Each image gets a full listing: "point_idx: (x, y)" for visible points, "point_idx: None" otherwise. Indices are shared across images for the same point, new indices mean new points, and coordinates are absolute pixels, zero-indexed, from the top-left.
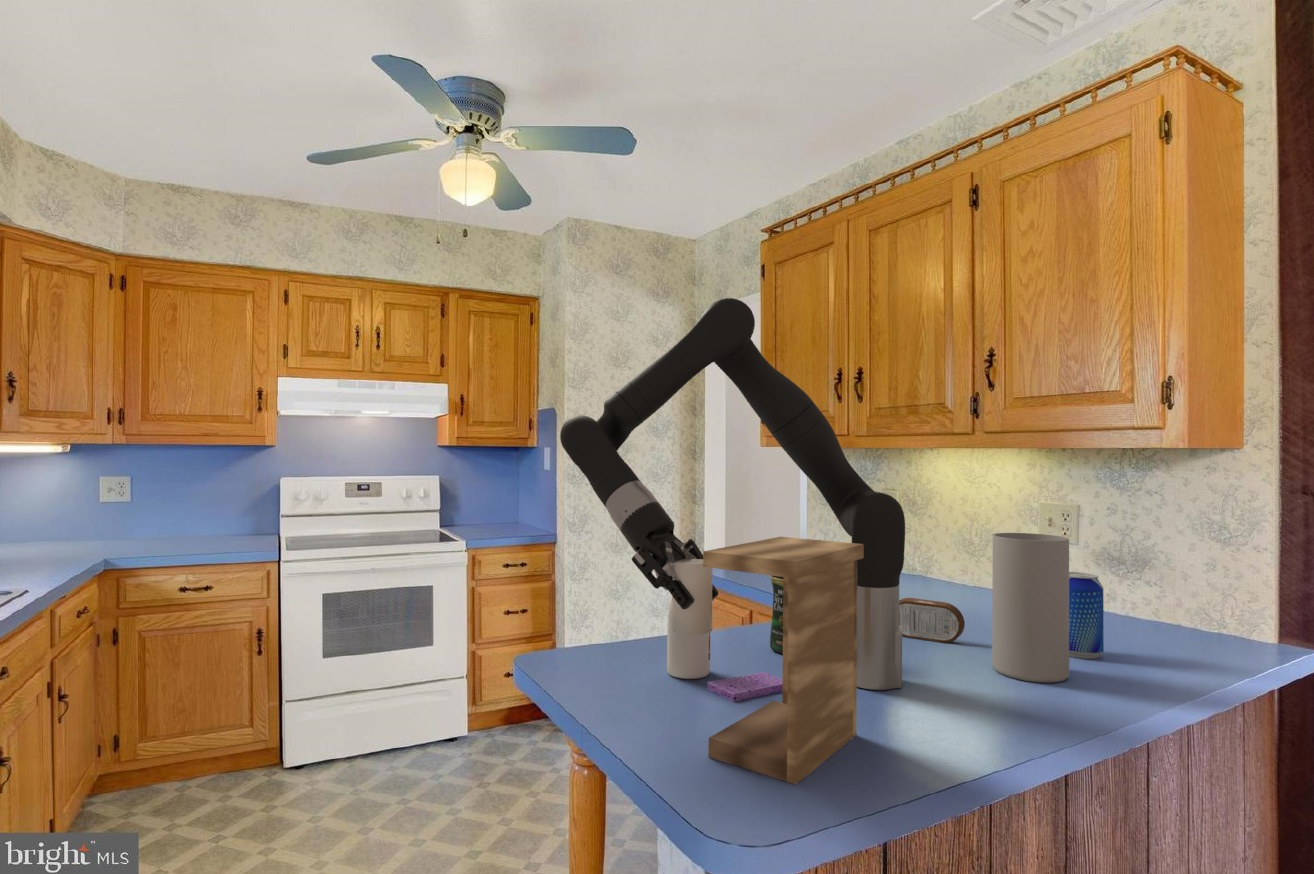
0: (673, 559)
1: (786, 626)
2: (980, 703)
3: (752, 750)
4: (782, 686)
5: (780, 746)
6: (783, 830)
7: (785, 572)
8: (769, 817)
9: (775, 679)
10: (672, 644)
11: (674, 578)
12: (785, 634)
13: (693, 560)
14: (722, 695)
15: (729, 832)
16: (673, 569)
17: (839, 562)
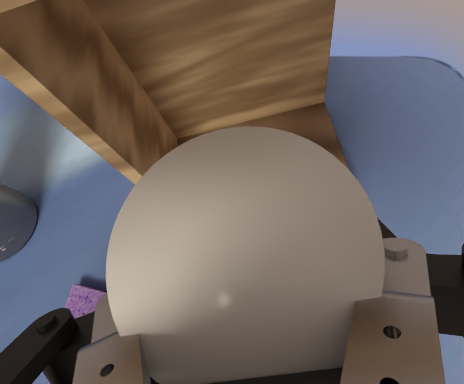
0: (363, 329)
1: (121, 150)
2: (27, 126)
3: (335, 135)
4: (89, 287)
5: (300, 126)
6: (396, 66)
7: None
8: (391, 83)
9: (72, 310)
10: None
11: (406, 241)
12: (130, 161)
13: (175, 283)
14: None
15: (445, 82)
16: (383, 287)
17: None
